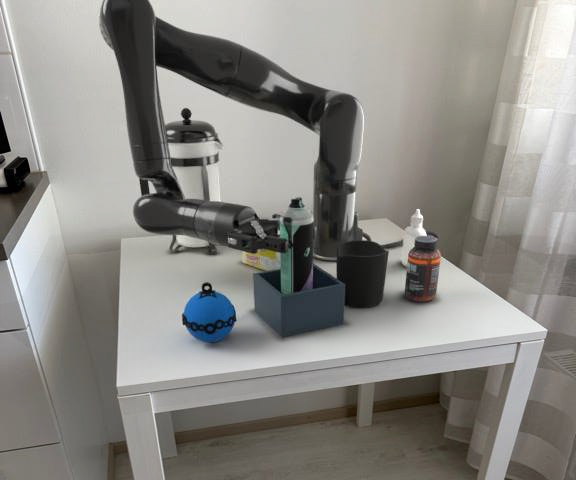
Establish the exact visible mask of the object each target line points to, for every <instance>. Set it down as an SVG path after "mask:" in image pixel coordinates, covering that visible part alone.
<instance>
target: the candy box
mask: <svg viewBox="0 0 576 480" xmlns="http://www.w3.org/2000/svg"><path fill="white" fill-rule="evenodd" d="M279 234H280V233H278V235H279ZM241 259H242V261H241V262H242V264H245V265H249V266H251V267H254V268H257V269H260V270H262V271H269V270H275V269H281V255H280V253H279V252H274V251H270V250H267V251H260V250H257V253H255V254H252V253H248V252H244V251H241Z"/></svg>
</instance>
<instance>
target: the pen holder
mask: <svg viewBox="0 0 576 480" xmlns="http://www.w3.org/2000/svg"><path fill="white" fill-rule="evenodd" d="M381 245H382V244H379V243H378V242H377V241H373V240H371V241H367V239H365V240H363V239H362V240H355V241H347V242H344V243H341V244H339V245H338V246H337V250H336V261H335V262H336V266H335V267H336V268H335V269H336V279H338V280H339V281H341V282H342V283H344V284H345V304H344V306H346V307H349V308H354V309H367V308H373V307H376V306H378V305H379V304H380V303H382V301H383V298H384V293H385V284H386V276H387V269H388V263H389V254H390V253H389V252H390V251H389V250H386V248H383V247H382V246H381Z"/></svg>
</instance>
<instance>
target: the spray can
mask: <svg viewBox="0 0 576 480" xmlns="http://www.w3.org/2000/svg"><path fill="white" fill-rule="evenodd" d="M290 199H291V200H290V203H289V205H288V206H287V208H286V209H285V210H283V211H281V212H280V213H279V215H281V217H280V230H279V234H280V238H284V239H287V241H288V252H286V253H284V254H283V253H280V255H281V294H282V295H285V294H290V293H295V292H301V291H306V290H311V289H313V263H314V256H313V228H314V218H313V211H311V210H309V209H307V208H306V205H304V203H303V198H302V197H301V196H297V197H295V198H290Z"/></svg>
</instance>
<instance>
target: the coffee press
mask: <svg viewBox="0 0 576 480" xmlns="http://www.w3.org/2000/svg"><path fill="white" fill-rule="evenodd" d="M180 116H181V118H182V120H175V121H170V122H167V123H165V128H166V133H167V139H168V144H169V151H170V157H171V158H170V159H171V164H172V167H173V170H174V172H175V174H176V177H177V179H178V182H179V184H180V186H181V189H182V191H183V194H184V196H185V199H201V200H206V201H220V202H222V198H221V183H220V169H219V162H220V155H219V154H220V153H219V151H218V150H224V149H225V146H224V144H223V142H222V141H221V139H220V138H219V133H218V132H216V129H215V127H214V126H213V125H212V124H211V123H209V122H207V121H204V120H194V119H192V120H191V117H192V110H190V109H189V107H188V108H187V107H184V108H182V109H181V111H180ZM138 180H139V181H138V182H139V188H140V194H141V196H143V195H146V194H151V193H150V192H151V191H150V184H149V181H148V180H143V179H140V178H138ZM171 236H172V240H171V243H170V244H169V247H168V250H169V251H170V252H171V253H173V254H176V253H177V252H178V251H179V249H181V248H182V247H185V248H186V247H187V248H203V247H205V248H206V250H207V252H208V254H209V255H214V254H217V247H216V244H212V243H210V242H207V241H205V240H201V239H196V238H192V237H188V236H183V235H171ZM175 244H177V245H176V246H175ZM174 246H175V248H174ZM173 248H174V249H173Z"/></svg>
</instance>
